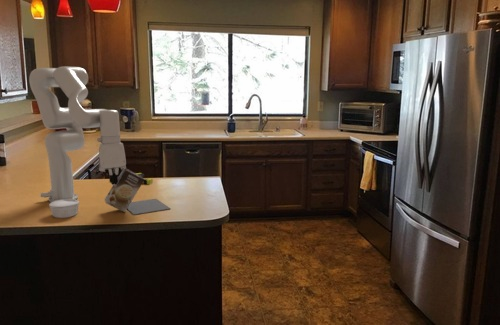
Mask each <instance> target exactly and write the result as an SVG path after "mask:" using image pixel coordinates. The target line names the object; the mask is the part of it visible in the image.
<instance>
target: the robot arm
mask: <svg viewBox="0 0 500 325" xmlns="http://www.w3.org/2000/svg"><path fill="white" fill-rule="evenodd" d="M28 79H29V81H28V82H29V86H30V89H31V92H32V94H33V96H34V97H35V98H34V99H35V101H36V102H37V106H38V109H39V112H40V114H39V115H40V116H41V120H42V123H43V125H44V126H43V127H44V128H46V129H48V130H59V131H52V132H50V133H48V134H46V136H45V138H44V145H45V148H46V153H47V157H48V166H49V176H50V177H49V178H50V189H49V191H47V192H40V194H39V195H40V197H41V198H48V201H49V202H50V203H51V202H54V201H57V200H64V199H73V200H77V199H79V195H78V194H77V193H75V189H74V187H75V186H74V176H73V175H74V174H73V163H72V159H71V157H70V155H69V154H68V153H67V152H72V151H78V150H82V148H84V146H85V144H86V143H85V142H86V139H85V135H84V130H83V129H91V128H100V137H98V138H97V142H100V143H99V149H98V165H99V168H98V171H100V172H105V173H107V174H108V178H109V180H108V181H109V183H110V184H111V185H112V186H113V185H114V184H117V182H118V176H119V174H120V173H121V172H122V170H123V169H127V166H126V165H127V159H126V152H125V147H124V143H123V142H121V141H122V140H121V129H120V128H121V126H120V125H121V124H120V114H119V111H118V110H115V109H106V108H91V109H90V108H88V109H85V108H83V107H82V105H81V104H80V103H82V102H83V101H84V100H85V99H86V98H87V97H88V95H89V90H88V88H87V87H86V85H87V84H88V82H89V74H88V72H87V71H86V69H85V68H82V67H80V66H65V65H64V66H58V67H38V68H35V69H33V70H31V71H30V73H29V78H28ZM50 88H60V89H61V91H62V92H63V93H64V94H65V96H66V97H67V98H68V102H67V107H61V106H60V103H59V100H58V97H57V95H56V93H54V92H53V91H52V90H50ZM60 129H66V130H60ZM112 169H113V170H112ZM120 171H121V172H120Z"/></svg>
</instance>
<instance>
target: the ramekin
mask: <svg viewBox="0 0 500 325" xmlns="http://www.w3.org/2000/svg"><path fill="white" fill-rule="evenodd" d="M79 205H80V201H79V200H77V199H76V200H73V199H64V200H57V201H54V202H50V203H49V204H48V207H49V209H50V212H51V215H52V216H53V217H54V218H56V219H66V218H72V217H74V216H76V215H77V214H78V212H79Z"/></svg>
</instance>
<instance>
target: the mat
mask: <svg viewBox="0 0 500 325" xmlns="http://www.w3.org/2000/svg"><path fill="white" fill-rule="evenodd" d="M168 210H171V208H170V207H169V206H168V205H166V204H165V203H163V202H162V201H161V200H159V199H157V198H150V199H143V200H137V201H131V203H130V205H129V206H128V208H127V211H129V212H130V214H132V215H133V216H137V215H142V214H150V213H155V212H162V211H163V212H164V211H168Z"/></svg>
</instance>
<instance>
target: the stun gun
mask: <svg viewBox="0 0 500 325" xmlns="http://www.w3.org/2000/svg"><path fill="white" fill-rule="evenodd" d="M135 173H136V172H135ZM136 174H137V175H139V176H141V177H142V178H144V181H143V183H142V185H151V184H153V181H154V180H153V178H145V174H144V173H142V172H138V173H136Z"/></svg>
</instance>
